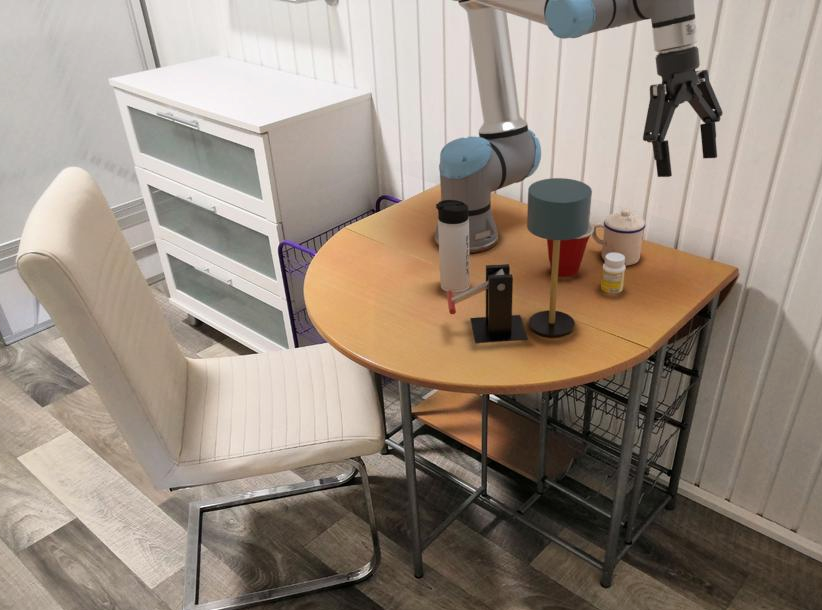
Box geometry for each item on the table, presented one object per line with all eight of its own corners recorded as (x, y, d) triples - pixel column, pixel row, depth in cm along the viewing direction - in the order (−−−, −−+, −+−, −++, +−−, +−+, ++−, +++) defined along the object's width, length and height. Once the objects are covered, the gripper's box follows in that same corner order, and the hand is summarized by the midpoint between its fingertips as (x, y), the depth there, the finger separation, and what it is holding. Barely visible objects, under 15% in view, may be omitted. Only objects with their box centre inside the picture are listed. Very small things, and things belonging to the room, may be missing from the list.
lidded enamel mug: (646, 254, 171) (652, 207, 164) (632, 270, 164) (638, 222, 158) (597, 243, 176) (602, 196, 169) (582, 258, 170) (586, 211, 163)
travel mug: (434, 286, 160) (431, 199, 148) (462, 280, 162) (461, 194, 150) (445, 300, 155) (442, 211, 144) (474, 293, 157) (473, 205, 146)
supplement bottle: (609, 284, 160) (613, 249, 155) (627, 292, 157) (631, 256, 152) (595, 292, 157) (599, 256, 152) (613, 300, 154) (617, 264, 149)
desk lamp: (519, 317, 149) (523, 179, 133) (572, 313, 150) (583, 176, 133) (528, 347, 140) (534, 204, 124) (585, 343, 141) (598, 200, 124)
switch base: (475, 348, 140) (474, 284, 132) (470, 322, 148) (469, 261, 140) (527, 344, 141) (529, 281, 133) (519, 319, 148) (521, 258, 140)
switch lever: (452, 317, 137) (446, 308, 136) (449, 298, 143) (443, 289, 142) (511, 290, 135) (505, 280, 134) (505, 272, 141) (500, 262, 139)
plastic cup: (598, 282, 161) (603, 231, 154) (551, 289, 158) (554, 238, 151) (577, 259, 169) (582, 211, 162) (533, 266, 167) (535, 217, 160)
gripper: (646, 59, 124) (660, 184, 132) (736, 34, 136) (744, 149, 144) (613, 65, 130) (628, 184, 138) (702, 40, 142) (712, 151, 150)
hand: (688, 167), depth 141 cm, fingers open, 13 cm apart
